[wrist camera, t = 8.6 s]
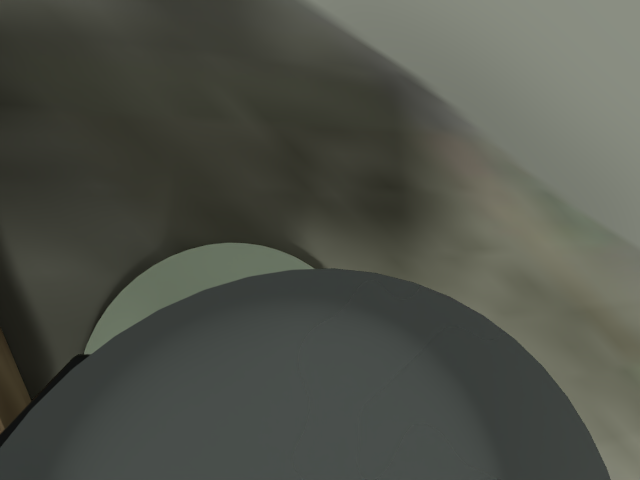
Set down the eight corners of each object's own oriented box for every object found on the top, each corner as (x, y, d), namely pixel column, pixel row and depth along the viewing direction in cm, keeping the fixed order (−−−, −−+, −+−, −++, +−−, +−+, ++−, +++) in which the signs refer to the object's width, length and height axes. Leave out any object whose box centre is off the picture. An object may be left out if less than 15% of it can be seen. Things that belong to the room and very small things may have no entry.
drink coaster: (362, 529, 17) (367, 536, 17) (60, 544, 15) (54, 554, 15) (370, 255, 19) (375, 253, 18) (99, 234, 17) (96, 230, 16)
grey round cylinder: (264, 522, 15) (471, 1257, 3) (103, 433, 14) (-354, 942, 3) (352, 360, 16) (715, 466, 5) (209, 272, 16) (217, 142, 4)
